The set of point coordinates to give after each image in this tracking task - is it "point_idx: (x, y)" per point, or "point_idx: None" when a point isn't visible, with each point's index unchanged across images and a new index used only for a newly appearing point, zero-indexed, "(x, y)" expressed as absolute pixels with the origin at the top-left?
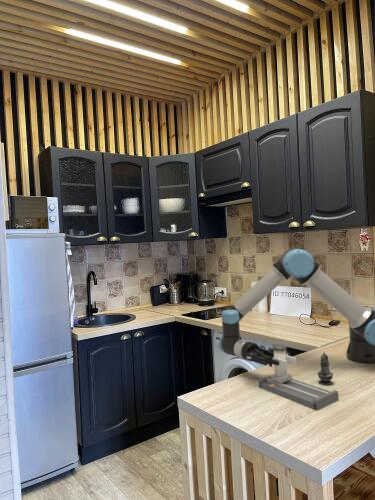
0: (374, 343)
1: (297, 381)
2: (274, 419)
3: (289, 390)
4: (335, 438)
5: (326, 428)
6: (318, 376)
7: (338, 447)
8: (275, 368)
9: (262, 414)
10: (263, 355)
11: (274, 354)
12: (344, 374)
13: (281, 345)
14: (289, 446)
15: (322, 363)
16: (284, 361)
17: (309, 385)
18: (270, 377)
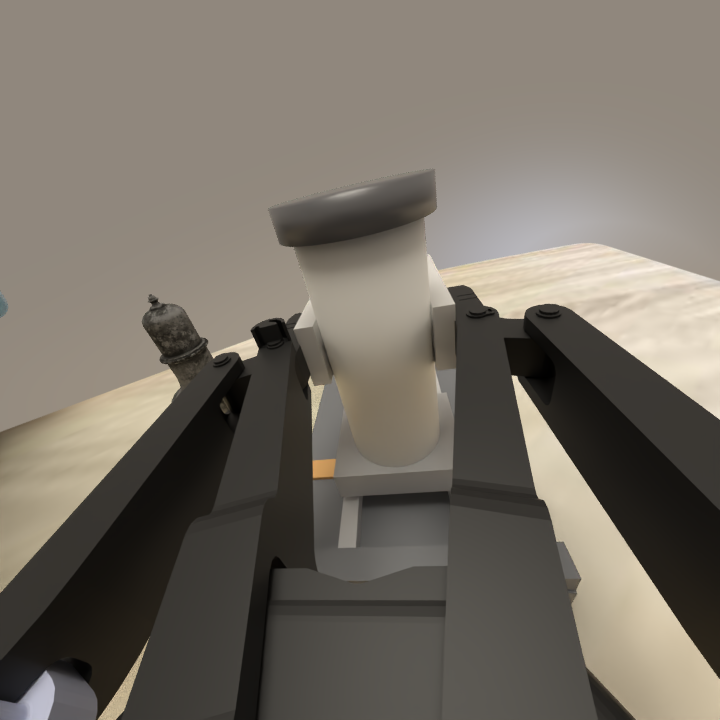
0: (4, 301)
1: (325, 427)
2: (621, 320)
3: (447, 380)
4: (503, 269)
5: (493, 283)
6: (223, 408)
7: (519, 259)
8: (435, 393)
9: (667, 346)
10: (506, 394)
11: (425, 275)
12: (103, 433)
13: (306, 199)
14: (626, 263)
15: (196, 341)
16: (431, 261)
17: (334, 380)
18: (426, 546)
